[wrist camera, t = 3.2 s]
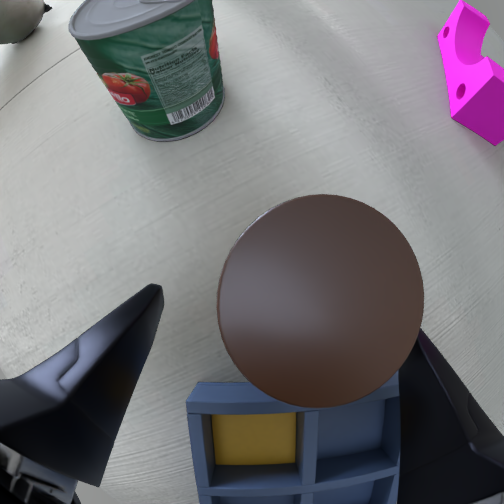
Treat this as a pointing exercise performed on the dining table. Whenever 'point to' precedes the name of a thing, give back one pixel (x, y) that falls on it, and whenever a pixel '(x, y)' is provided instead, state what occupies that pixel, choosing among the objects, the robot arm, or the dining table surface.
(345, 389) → the brown wooden dowel
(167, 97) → the canned tomato
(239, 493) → the grid
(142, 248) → the dining table surface
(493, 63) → the toy block
